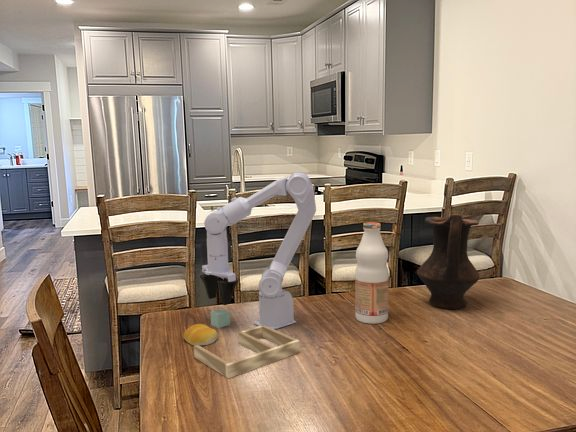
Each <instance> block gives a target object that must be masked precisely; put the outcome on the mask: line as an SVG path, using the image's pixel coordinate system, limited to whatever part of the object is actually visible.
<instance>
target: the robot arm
mask: <svg viewBox="0 0 576 432" xmlns="http://www.w3.org/2000/svg"><path fill="white" fill-rule="evenodd" d="M288 194H289V195H290V197H292V198H293V200H294V203H295V205H296V208H297V211H296V214H295V216H294V218H293V220H292V222H291V224H290V226H289V228H288V230H287V232H286V234H285V236H284V238H283V239H282V241H281V244H280V246H279V248H278V249H277V252H276V254H275V256H274V258H273V259H272V261H271V263H270V265H269V266H268V267H267V268H265V269H264V270H263V272H262V273H261V276H260V277H261V278H260V280H259V282H258V290H259V291H258V304H259V305H258V308H259V309H258V311H259V320H254V321H253V324H254V325H256V326H257V327H258V326H261V325H265V326H267V327H269V328H272V329H274V330H276V329H281V328H283V327H286V326H287V327H288V326H289V325H294V324H296V322H297V321H296V320H295V319H294V318H295V317H294V315H295V314H294V312H295V311H294V298H293V296H292V294H291V292H289V291H287V290H284V289H283V288H282V284H283V281H284V278H285V275H286V272H287V269H289V266H290V263H291V262H292V260H293V258H294V256H295V253H296V252H297V249H298V247H299V246H300V244H301V242H302V240H303V238H304V236H305V234H306V232H307V230H308V228H309V226H310V224H311V222H312V220H313V218H314V217H315V214H316V211H317V205H316V198H315V191H314V185H313V183H312V181H311V178H310V177H309V176H308V175H307V173H305V172H303V171H295V172H293V173H291V174H290V175H286V176H284V177H282V178H281V177H280V178H279V179H277V180H274V181H273V182H271V183H269V184H268V185H266V186H264V187H263V188H261V189H260V190H258V191H257V192H254V194H252V195H250V196H248V197H243V196H239V197H236V196H235V197H233V198H231V199H230V202H228V203H227V204H225V205H223V206H222V207H221V206H218V207H216V210H215V211H213V212H210V214H209V215H207V216H206V218H205V220H204V223H203V225H204V228H205V230H206V253H207V264H203V265H201V268H202V269H201V271H202V273H203V274H200V275H199V277H200V280H201V281H202V283H203V285H204V288H205V291H206V293H207V294H206V295H207V298H208V299H209V300H212V299H215V298H217V293H218V287H219V291H220V295H221V296H220V297H221V302H222V305H223V306H227V305H231V303H232V298H233V293H234V291H235V289H236V286H237V284H238V282H239V281H238V279H237V278H236V273H235V272H233V271H232V270H231V269H230V268H229V252H228V251H229V250H228V249H229V248H228V247H229V246H228V245H229V244H228V234H227V227H228V226H229V227H232V226H233V225H235V224H236V223H238V222H240V221H242V220H244V219H245V218H247V217H249V216H251V214H252V211H253V208H254V207H257V206H259V205H261V204H263V203H264V202H267V201H268V200H271V199H272V198H273V197H276V196H285V197H286V196H288ZM219 278H221V279H222V280H219Z"/></svg>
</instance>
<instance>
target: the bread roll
mask: <svg viewBox="0 0 576 432" xmlns="http://www.w3.org/2000/svg"><path fill="white" fill-rule="evenodd" d="M183 339H184V340H185V341H186V343H189V344H190V345H191V346H192V347H194V346H195V345H199V346H201V347H202V346H208V345H212V344H213V343H215V342H216V341H217V339H218V333H217V330H216V329H214V328H211V327H209V326H208V325H206V324H203V323H196V324H193V325H191V326H189V327H188V328H187V329H185V331H184V332H183Z"/></svg>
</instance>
